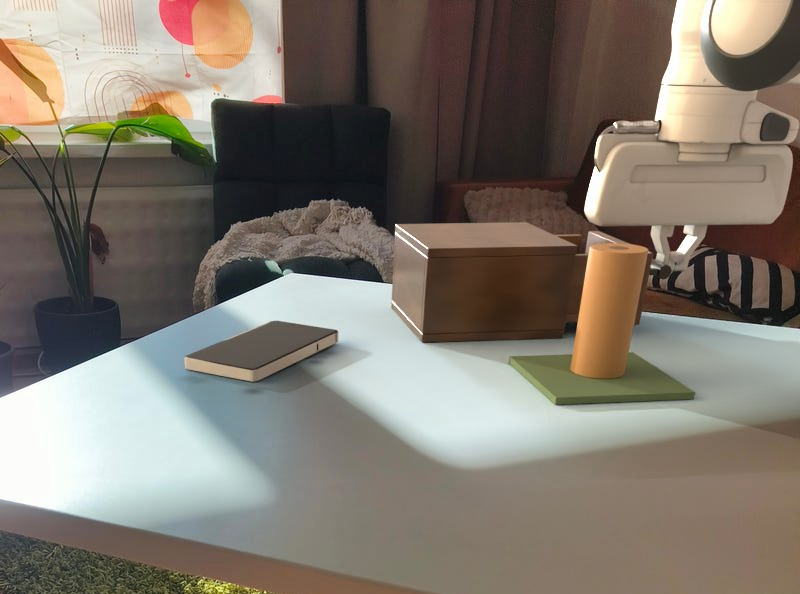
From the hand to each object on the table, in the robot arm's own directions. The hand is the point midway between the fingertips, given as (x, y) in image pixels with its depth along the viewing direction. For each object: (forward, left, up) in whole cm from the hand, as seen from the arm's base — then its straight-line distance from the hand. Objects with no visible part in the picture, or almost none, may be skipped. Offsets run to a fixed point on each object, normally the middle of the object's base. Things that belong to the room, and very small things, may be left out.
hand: (670, 271), depth 95 cm
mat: (+16, +21, -5) cm, 27 cm away
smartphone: (+44, +10, -5) cm, 46 cm away
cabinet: (+21, 0, -5) cm, 22 cm away
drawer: (+10, 0, -4) cm, 11 cm away
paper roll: (+16, +21, -4) cm, 26 cm away
